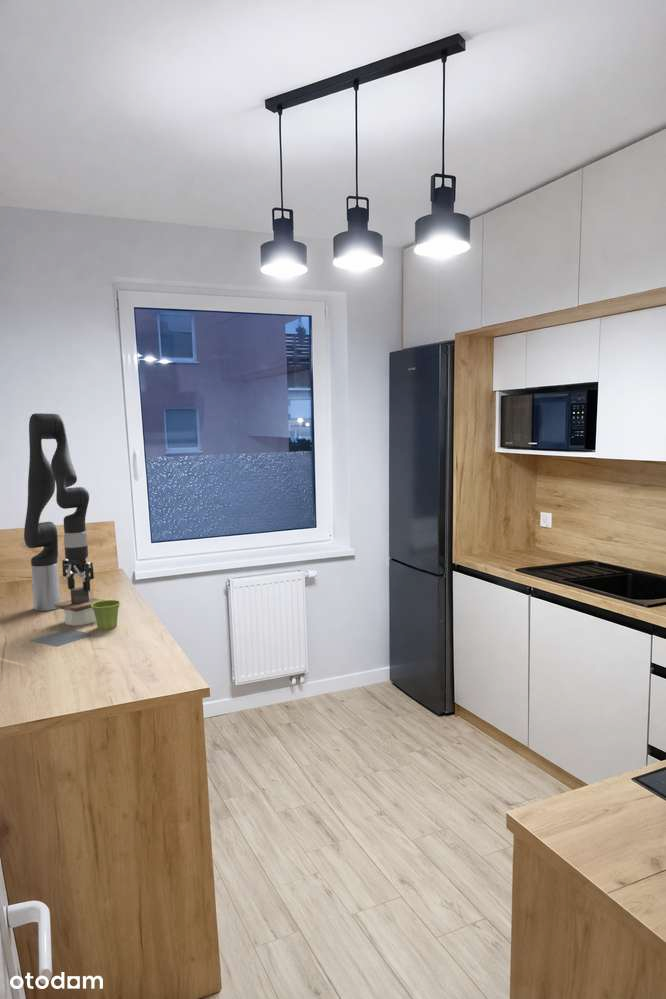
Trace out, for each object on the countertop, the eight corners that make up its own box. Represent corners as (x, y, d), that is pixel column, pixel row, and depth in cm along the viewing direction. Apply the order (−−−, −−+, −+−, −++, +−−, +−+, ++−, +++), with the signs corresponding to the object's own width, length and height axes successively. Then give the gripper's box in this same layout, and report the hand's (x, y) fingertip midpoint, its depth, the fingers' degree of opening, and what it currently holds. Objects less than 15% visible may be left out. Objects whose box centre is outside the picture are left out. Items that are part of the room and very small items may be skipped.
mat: (30, 641, 209) (30, 640, 209) (68, 629, 221) (68, 628, 221) (56, 648, 202) (56, 646, 202) (95, 635, 213) (94, 634, 213)
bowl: (60, 624, 228) (59, 607, 228) (85, 616, 237) (83, 600, 236) (78, 627, 223) (76, 610, 222) (102, 620, 231) (101, 603, 231)
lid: (54, 607, 227) (53, 590, 227) (84, 599, 237) (83, 583, 237) (76, 611, 221) (75, 594, 220) (105, 603, 231) (104, 586, 230)
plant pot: (128, 625, 224) (126, 601, 223) (107, 633, 215) (106, 608, 214) (107, 623, 227) (105, 599, 227) (86, 631, 219) (84, 605, 218)
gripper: (98, 544, 226) (101, 590, 228) (72, 541, 234) (75, 585, 236) (79, 548, 220) (82, 595, 222) (53, 544, 228) (57, 590, 229)
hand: (79, 590), depth 229 cm, fingers open, 8 cm apart
